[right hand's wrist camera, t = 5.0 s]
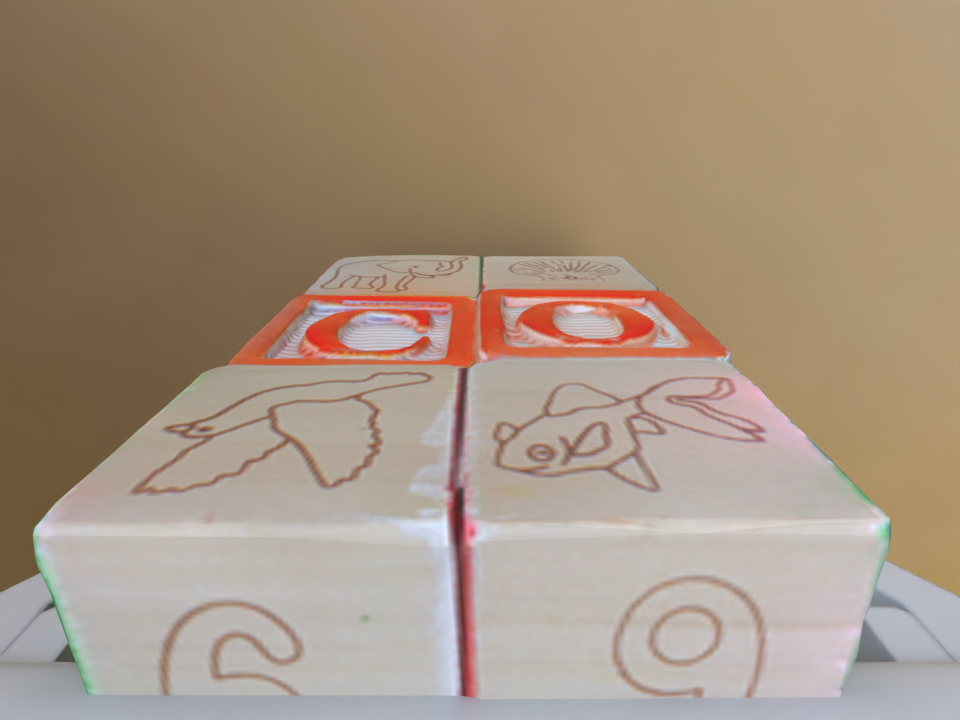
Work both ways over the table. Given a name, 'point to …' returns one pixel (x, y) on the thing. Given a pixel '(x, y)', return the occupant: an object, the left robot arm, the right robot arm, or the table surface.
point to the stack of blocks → (468, 506)
